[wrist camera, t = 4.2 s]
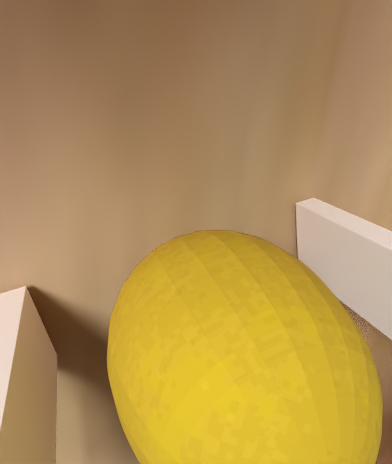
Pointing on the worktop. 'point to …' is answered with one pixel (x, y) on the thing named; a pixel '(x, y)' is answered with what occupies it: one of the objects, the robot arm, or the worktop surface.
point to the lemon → (239, 359)
